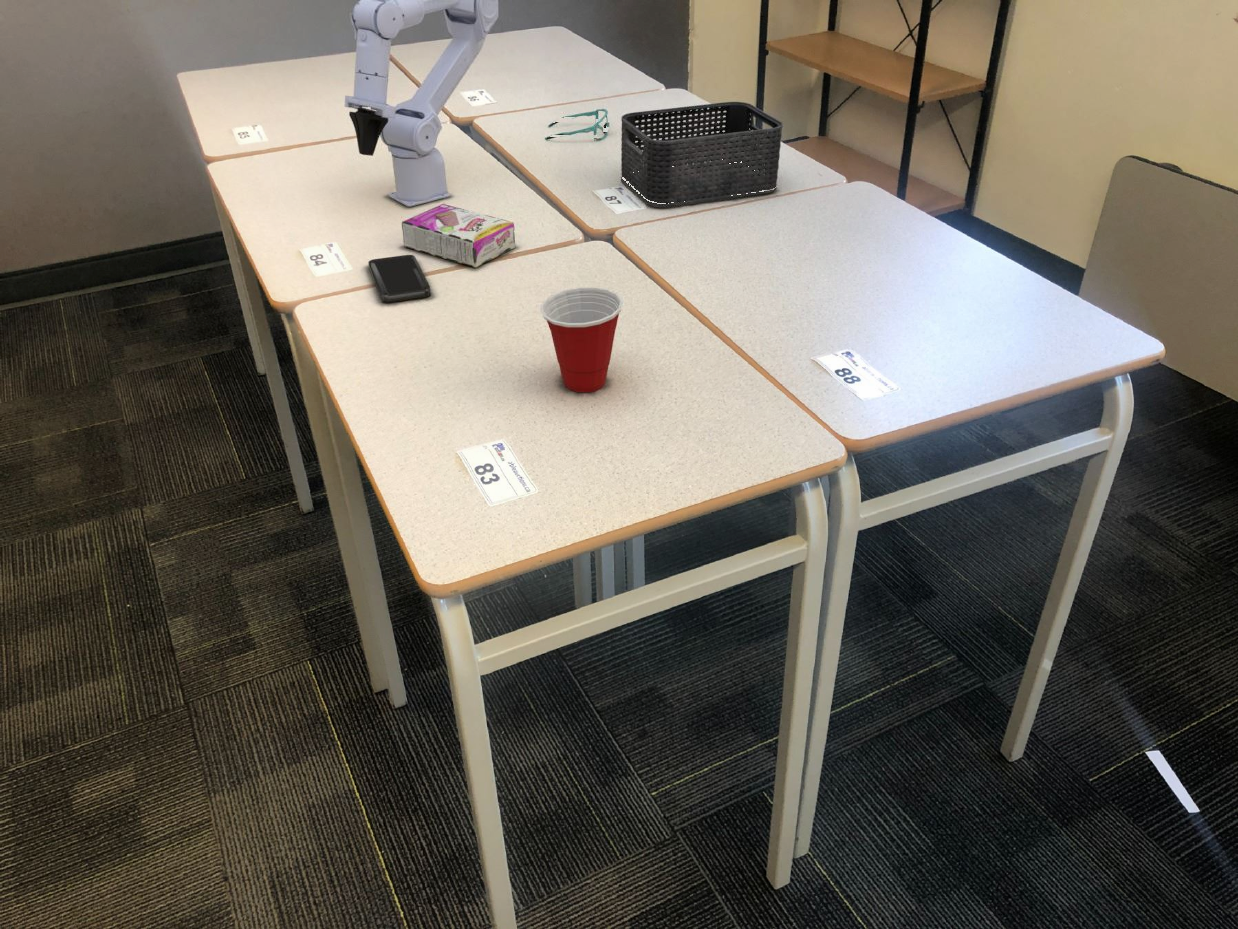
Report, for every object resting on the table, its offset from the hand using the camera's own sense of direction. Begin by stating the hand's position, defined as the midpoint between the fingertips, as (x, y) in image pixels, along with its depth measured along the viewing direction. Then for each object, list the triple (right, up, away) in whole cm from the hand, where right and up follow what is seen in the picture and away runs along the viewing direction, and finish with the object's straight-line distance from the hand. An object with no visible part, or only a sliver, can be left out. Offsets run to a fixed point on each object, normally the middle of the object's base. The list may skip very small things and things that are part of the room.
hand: (366, 154), depth 172 cm
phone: (+10, -26, -17) cm, 33 cm away
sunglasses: (+36, +21, +50) cm, 65 cm away
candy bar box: (+11, -13, -3) cm, 17 cm away
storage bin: (+62, 0, +22) cm, 66 cm away
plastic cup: (+41, -45, -42) cm, 74 cm away
